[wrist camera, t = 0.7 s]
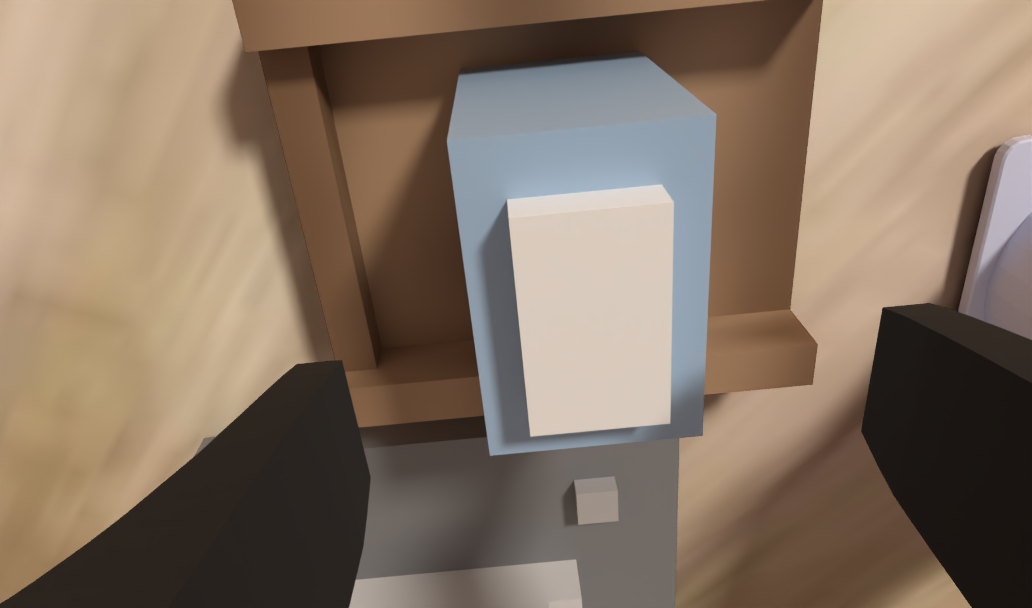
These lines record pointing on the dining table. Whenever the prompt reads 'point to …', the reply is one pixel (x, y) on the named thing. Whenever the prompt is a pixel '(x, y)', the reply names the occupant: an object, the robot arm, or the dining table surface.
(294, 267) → the dining table surface
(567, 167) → the plug
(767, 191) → the wooden serving tray
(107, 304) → the dining table surface
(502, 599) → the port panel
